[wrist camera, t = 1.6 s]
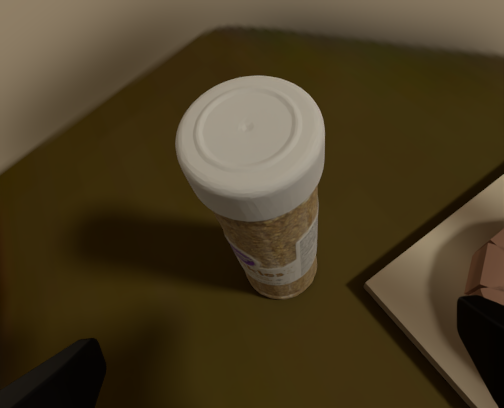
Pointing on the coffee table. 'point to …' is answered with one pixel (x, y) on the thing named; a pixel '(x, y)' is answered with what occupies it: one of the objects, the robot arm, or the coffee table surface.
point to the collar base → (448, 287)
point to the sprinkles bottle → (259, 175)
